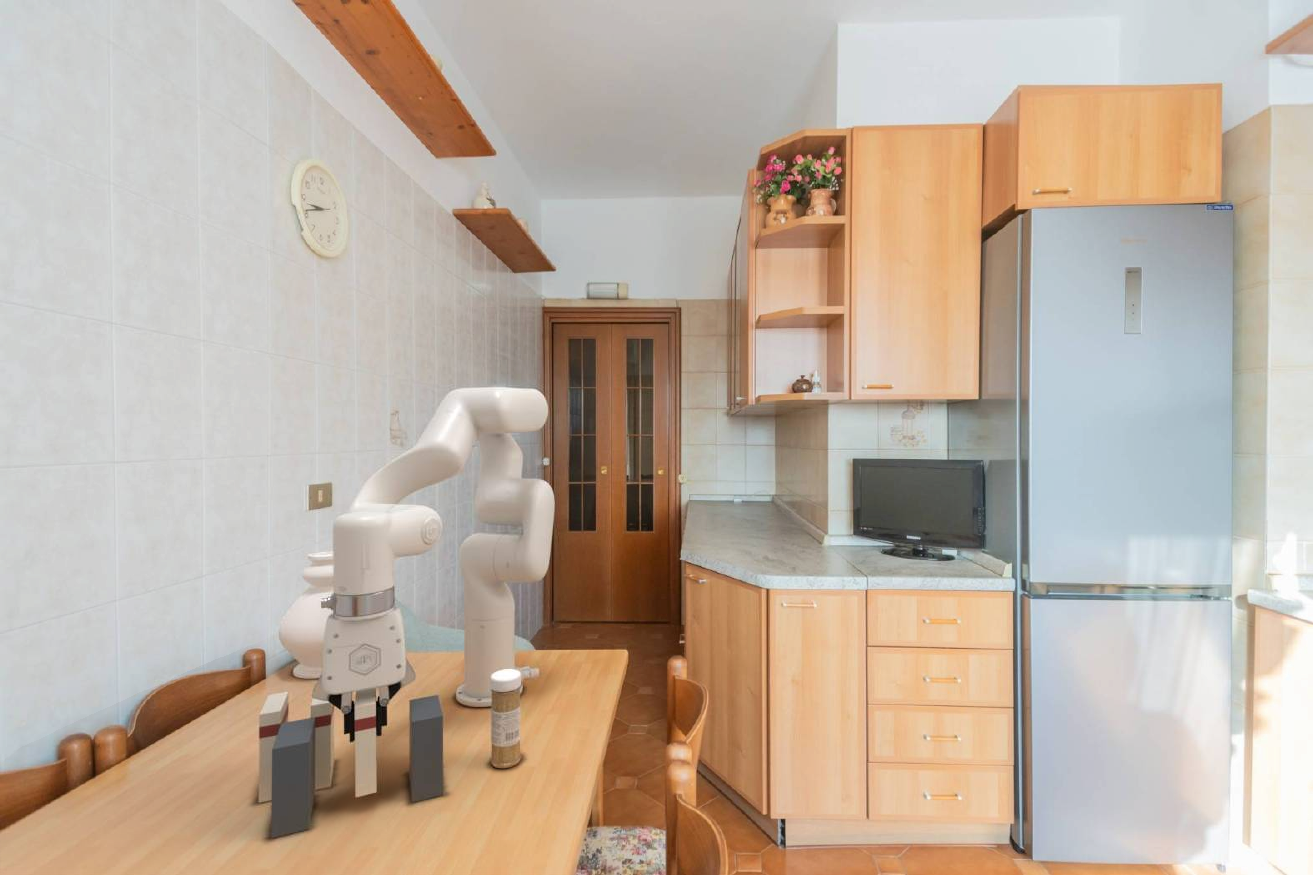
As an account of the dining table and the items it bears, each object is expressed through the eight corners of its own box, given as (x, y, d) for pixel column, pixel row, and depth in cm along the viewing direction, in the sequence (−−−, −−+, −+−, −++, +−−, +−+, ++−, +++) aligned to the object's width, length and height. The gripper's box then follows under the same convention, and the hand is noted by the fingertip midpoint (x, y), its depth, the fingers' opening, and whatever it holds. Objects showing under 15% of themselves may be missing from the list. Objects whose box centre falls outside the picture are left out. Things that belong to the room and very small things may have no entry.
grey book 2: (438, 767, 86) (438, 694, 86) (443, 795, 79) (443, 715, 79) (409, 774, 84) (409, 699, 84) (411, 803, 77) (411, 721, 77)
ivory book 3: (376, 765, 82) (376, 682, 82) (376, 792, 76) (375, 703, 76) (357, 769, 81) (356, 686, 81) (355, 797, 75) (354, 707, 75)
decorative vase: (290, 658, 131) (291, 549, 131) (375, 648, 137) (376, 544, 137) (267, 689, 114) (268, 564, 115) (366, 676, 120) (367, 557, 121)
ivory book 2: (334, 762, 87) (334, 683, 88) (330, 786, 81) (331, 701, 81) (315, 766, 86) (315, 686, 86) (309, 791, 80) (310, 705, 80)
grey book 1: (314, 796, 79) (315, 716, 79) (308, 829, 72) (309, 741, 72) (280, 804, 77) (281, 722, 77) (271, 838, 70) (272, 749, 70)
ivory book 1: (288, 772, 85) (288, 691, 85) (280, 798, 78) (281, 710, 79) (267, 776, 84) (268, 694, 84) (258, 803, 77) (259, 714, 78)
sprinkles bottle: (517, 750, 90) (517, 665, 91) (523, 765, 86) (524, 676, 87) (487, 757, 88) (488, 670, 89) (493, 772, 84) (493, 681, 85)
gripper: (291, 618, 72) (293, 763, 72) (429, 600, 79) (431, 733, 79) (299, 602, 78) (301, 735, 78) (425, 588, 86) (427, 710, 86)
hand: (366, 733), depth 79 cm, fingers closed on ivory book 3, 2 cm apart
